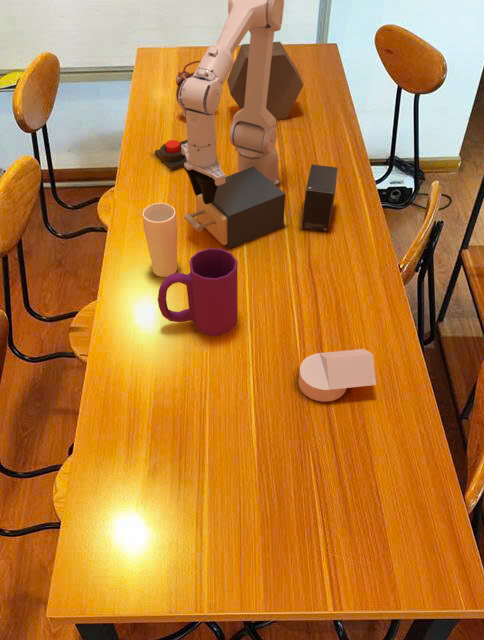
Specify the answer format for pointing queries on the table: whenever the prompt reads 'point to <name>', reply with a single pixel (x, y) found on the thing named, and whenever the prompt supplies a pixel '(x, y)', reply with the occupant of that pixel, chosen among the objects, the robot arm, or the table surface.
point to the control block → (171, 157)
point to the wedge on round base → (335, 373)
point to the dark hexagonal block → (281, 81)
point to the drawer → (209, 220)
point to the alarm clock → (183, 78)
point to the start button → (172, 146)
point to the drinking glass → (161, 237)
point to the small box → (319, 197)
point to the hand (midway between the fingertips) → (204, 198)
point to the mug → (206, 292)
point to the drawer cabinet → (249, 205)
